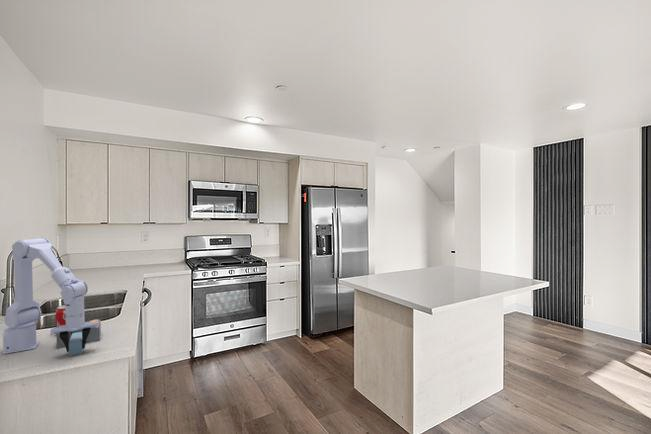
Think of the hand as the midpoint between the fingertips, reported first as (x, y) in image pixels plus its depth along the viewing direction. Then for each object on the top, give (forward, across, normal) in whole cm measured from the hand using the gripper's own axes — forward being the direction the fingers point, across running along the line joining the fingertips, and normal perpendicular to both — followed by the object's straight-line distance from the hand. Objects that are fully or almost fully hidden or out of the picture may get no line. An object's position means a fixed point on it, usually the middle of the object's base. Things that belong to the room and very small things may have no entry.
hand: (76, 349), depth 125 cm
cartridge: (+2, 0, +5) cm, 5 cm away
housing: (+2, 0, +14) cm, 14 cm away
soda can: (+2, -6, +27) cm, 28 cm away
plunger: (-1, +5, +15) cm, 16 cm away
